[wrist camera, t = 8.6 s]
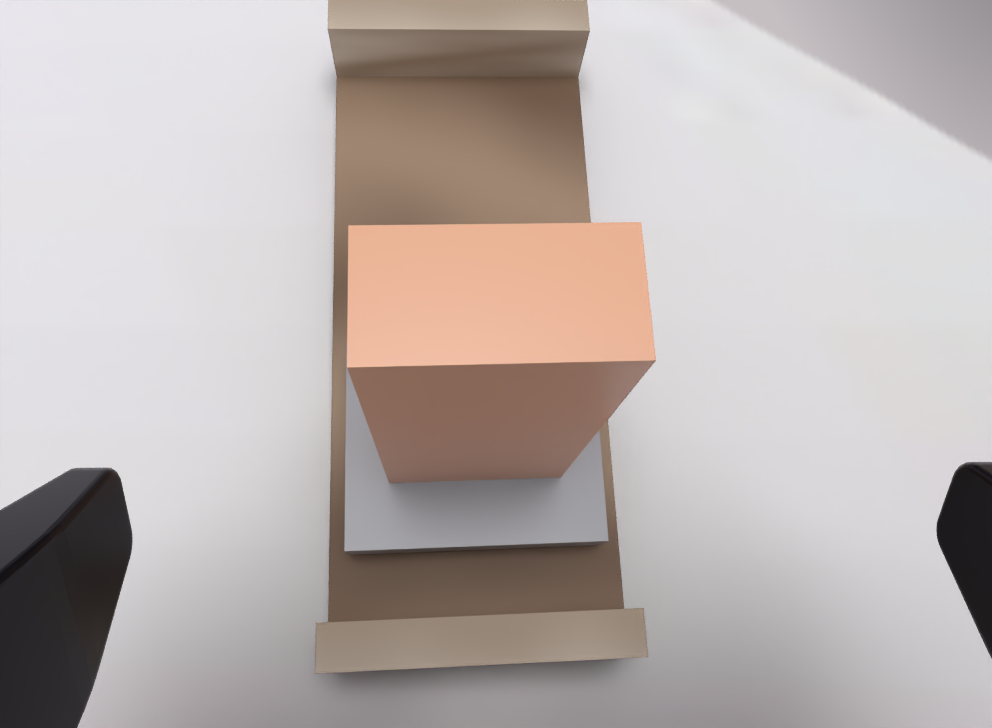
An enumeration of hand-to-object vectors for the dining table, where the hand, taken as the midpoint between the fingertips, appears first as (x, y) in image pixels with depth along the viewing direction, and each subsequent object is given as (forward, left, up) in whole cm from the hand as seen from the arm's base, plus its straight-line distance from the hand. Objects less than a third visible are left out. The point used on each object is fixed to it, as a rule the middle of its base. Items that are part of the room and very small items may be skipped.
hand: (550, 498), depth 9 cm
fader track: (+6, 0, -13) cm, 14 cm away
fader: (+3, 0, -11) cm, 12 cm away
